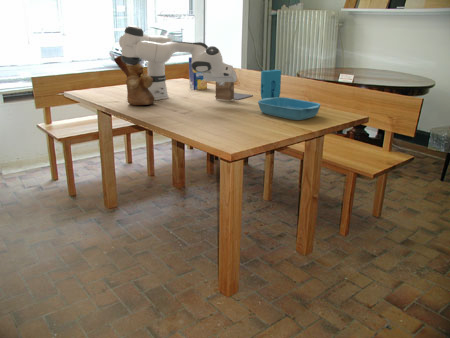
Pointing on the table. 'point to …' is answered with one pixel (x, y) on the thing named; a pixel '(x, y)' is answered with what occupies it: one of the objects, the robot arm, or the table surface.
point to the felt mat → (240, 96)
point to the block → (270, 83)
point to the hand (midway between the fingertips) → (222, 84)
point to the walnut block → (225, 91)
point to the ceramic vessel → (136, 83)
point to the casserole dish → (289, 108)
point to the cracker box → (196, 78)
